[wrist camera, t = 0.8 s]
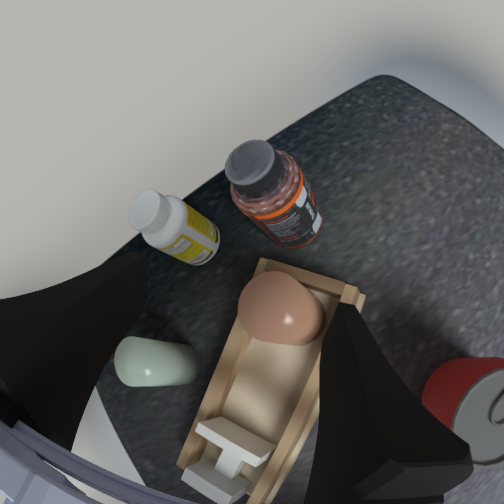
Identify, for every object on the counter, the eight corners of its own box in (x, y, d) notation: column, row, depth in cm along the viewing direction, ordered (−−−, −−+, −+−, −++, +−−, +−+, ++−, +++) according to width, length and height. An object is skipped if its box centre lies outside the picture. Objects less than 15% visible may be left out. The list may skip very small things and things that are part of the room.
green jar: (192, 392, 31) (139, 395, 24) (162, 372, 33) (109, 370, 26) (207, 354, 31) (156, 350, 24) (176, 337, 33) (123, 328, 27)
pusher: (250, 496, 23) (231, 511, 20) (199, 465, 26) (175, 475, 23) (277, 446, 24) (260, 458, 21) (221, 416, 27) (198, 422, 24)
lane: (271, 502, 23) (255, 517, 20) (191, 454, 28) (169, 462, 25) (366, 296, 27) (362, 287, 23) (269, 265, 31) (253, 254, 28)
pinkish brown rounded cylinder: (313, 354, 26) (288, 353, 20) (264, 334, 29) (227, 326, 23) (334, 300, 27) (316, 282, 21) (284, 283, 29) (253, 262, 23)
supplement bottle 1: (195, 216, 38) (141, 177, 29) (229, 229, 35) (176, 187, 26) (174, 257, 37) (115, 227, 29) (207, 273, 34) (147, 244, 26)
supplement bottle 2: (337, 220, 30) (305, 153, 20) (292, 263, 31) (240, 214, 21) (298, 186, 33) (255, 117, 23) (257, 224, 34) (199, 169, 24)
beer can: (500, 372, 19) (565, 378, 9) (465, 441, 18) (506, 490, 8) (442, 346, 22) (479, 338, 12) (406, 415, 22) (416, 457, 11)
